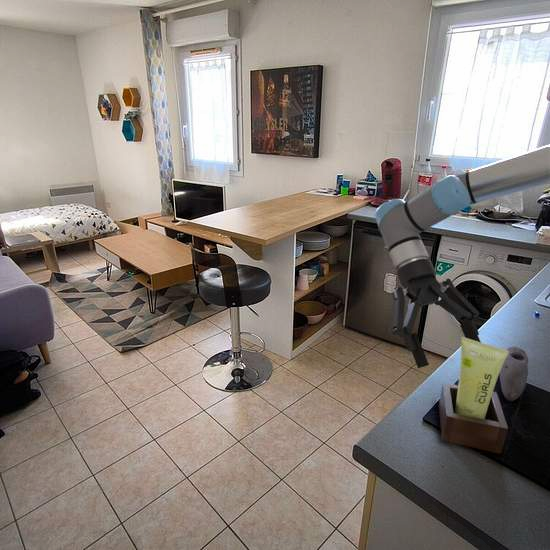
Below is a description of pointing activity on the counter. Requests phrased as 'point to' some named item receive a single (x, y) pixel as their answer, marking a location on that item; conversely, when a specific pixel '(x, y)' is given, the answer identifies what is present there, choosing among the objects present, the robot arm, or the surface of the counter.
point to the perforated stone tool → (514, 373)
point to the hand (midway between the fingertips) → (451, 359)
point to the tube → (477, 377)
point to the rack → (472, 423)
